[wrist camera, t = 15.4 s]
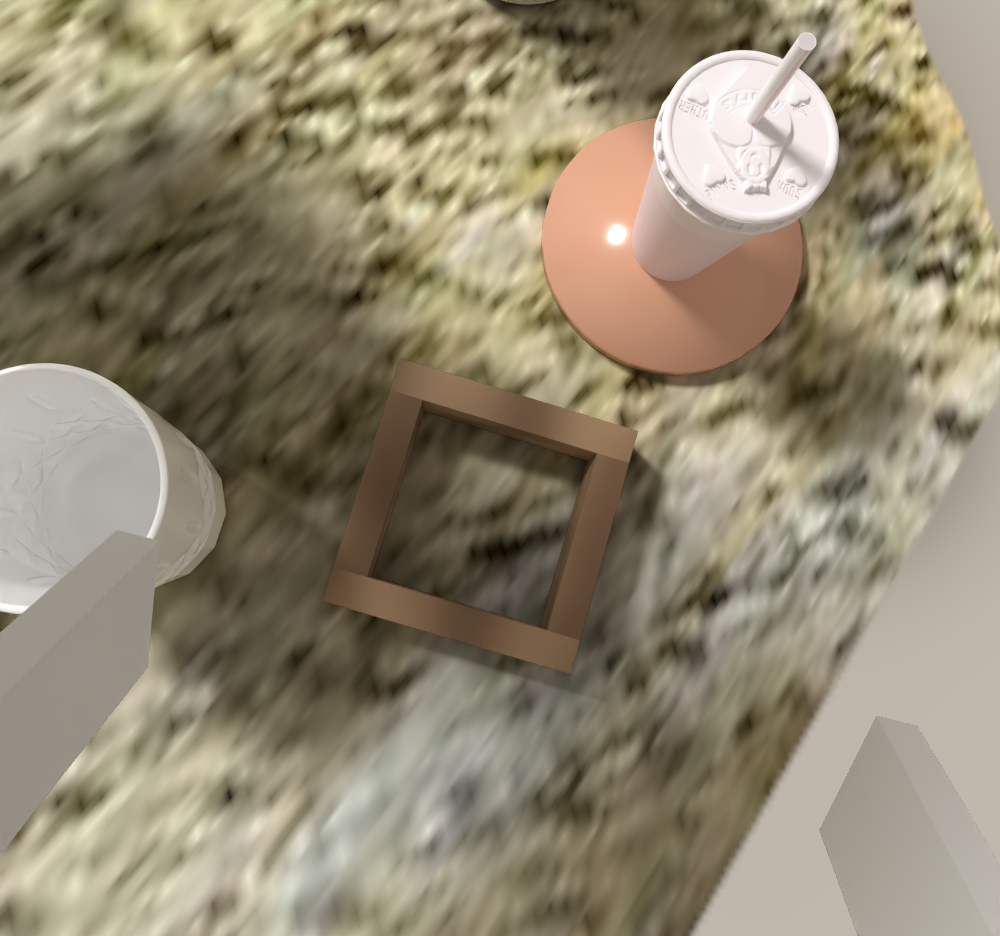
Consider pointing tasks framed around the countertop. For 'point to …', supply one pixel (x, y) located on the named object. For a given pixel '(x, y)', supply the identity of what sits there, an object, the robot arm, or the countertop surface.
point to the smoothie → (733, 158)
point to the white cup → (93, 480)
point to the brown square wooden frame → (508, 417)
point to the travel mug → (528, 1)
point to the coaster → (640, 296)
